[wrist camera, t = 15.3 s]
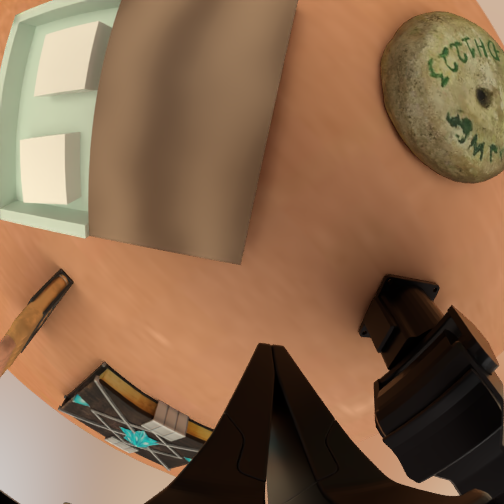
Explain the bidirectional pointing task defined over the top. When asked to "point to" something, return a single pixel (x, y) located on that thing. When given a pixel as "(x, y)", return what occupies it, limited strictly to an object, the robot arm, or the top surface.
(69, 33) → the tile
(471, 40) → the weight
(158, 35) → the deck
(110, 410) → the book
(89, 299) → the top surface
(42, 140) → the tile
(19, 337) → the ammunition clip
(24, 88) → the tray
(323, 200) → the top surface
